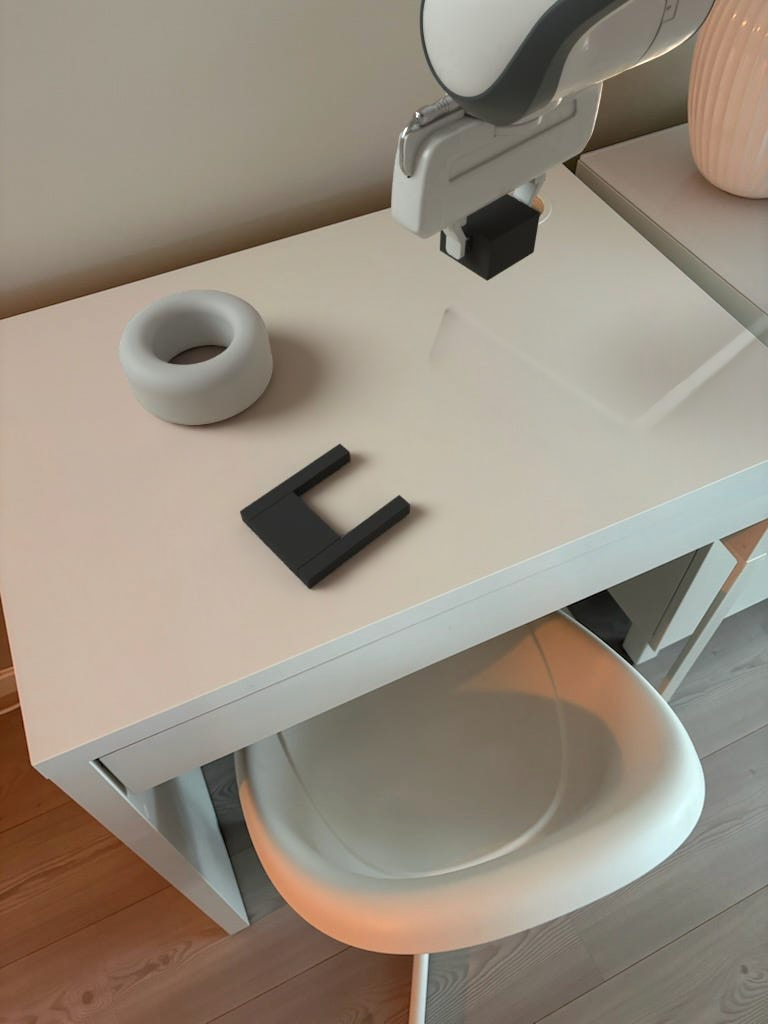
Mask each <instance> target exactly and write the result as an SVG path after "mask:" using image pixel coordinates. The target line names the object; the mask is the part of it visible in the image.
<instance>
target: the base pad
mask: <svg viewBox="0 0 768 1024" xmlns="http://www.w3.org/2000/svg"><path fill="white" fill-rule="evenodd" d="M349 463H351V452H350V450H349V449H347V448H346V447H345V446H344V445H343V444H341V443H339V444H337V445H335V446H334V447H333V448H331V449H330V450H328V451H326V452H325V453H324V454H322V455H320V456H319V457H317V458H316V459H314V460H313V461H312V462H310V463H308V464H307V465H306V466H304V467H303V468H301V469H300V470H299V471H297V472H295V473H294V474H293V475H291V476H290V477H288V478H287V479H285V480H283V481H282V482H280V483H279V484H278V485H277V486H276V485H275V487H274V488H272V489H271V490H269V491H267V492H266V493H265V494H263V495H262V496H260V497H258V498H257V499H255V500H254V501H253V502H252V503H250V504H248V505H246V506H245V507H244V508H242V509H241V510H240V511H239V513H240V518H241V520H242V522H243V523H244V524H245V525H246V526H247V527H248V528H249V529H250V530H251V531H252V532H253V533H254V535H256V536H257V538H258V539H260V540H261V541H262V542H263V544H265V546H266V547H267V548H269V550H270V551H271V552H273V554H274V555H275V556H276V557H277V558H278V559H279V560H280V561H281V562H282V563H283V564H284V565H285V566H286V568H288V569H289V570H290V571H291V572H292V574H294V575H295V576H296V577H297V578H298V579H299V580H300V582H302V584H304V586H306V588H307V589H308V590H311V589H312V588H313V587H314V586H316V585H317V584H319V583H320V582H322V581H323V580H324V579H325V578H326V577H328V576H329V575H330V574H332V573H333V572H335V571H336V570H337V569H338V568H340V567H341V566H342V565H343V564H345V563H346V562H348V561H349V560H350V559H352V558H353V557H354V556H356V555H357V554H358V553H360V552H361V551H362V550H363V549H365V548H367V546H369V545H370V544H371V543H373V542H374V541H375V540H377V539H378V538H379V537H381V536H382V535H383V534H385V533H386V532H387V531H388V530H390V529H391V528H392V527H394V526H395V525H396V524H398V523H399V522H400V521H402V520H403V519H404V518H406V517H407V516H408V515H409V514H411V504H410V502H408V501H407V500H406V499H405V498H404V497H402V496H401V495H400V494H398V495H397V496H395V497H394V498H393V499H392V500H390V501H389V502H387V503H386V504H384V505H383V506H382V507H381V508H379V509H378V510H377V511H375V512H374V513H372V514H371V515H370V516H368V517H367V518H366V519H365V520H363V521H362V522H361V523H359V524H357V526H355V527H354V528H353V529H351V530H349V531H348V532H347V533H345V534H344V535H343V536H340V535H339V534H338V533H337V532H336V531H335V530H334V529H333V528H332V527H331V526H330V525H329V524H328V523H327V522H326V521H325V520H323V519H322V518H321V516H319V515H318V514H317V513H316V512H315V511H314V510H313V509H312V508H310V506H308V504H306V502H305V501H303V500H302V498H301V497H302V496H303V495H305V494H306V493H308V492H309V491H310V490H312V489H313V488H314V487H316V486H317V485H318V484H319V485H320V483H322V482H323V481H325V480H326V479H327V478H329V477H330V476H332V475H334V473H336V472H338V471H339V470H341V469H342V468H343V467H345V466H346V465H347V464H349Z"/></svg>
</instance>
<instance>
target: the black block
mask: <svg viewBox="0 0 768 1024" xmlns="http://www.w3.org/2000/svg"><path fill="white" fill-rule="evenodd" d="M540 215H541V212H540V211H538V210H537V209H535V208H533V207H532V208H531V207H530V206H528V205H526V204H524V203H522V202H521V201H519V200H517V199H515V198H514V197H513V195H510V194H509V193H508V194H506V195H504V196H502V197H501V198H499V199H497V200H495V201H493V202H492V203H490V204H488V205H486V206H484V207H483V208H481V209H479V210H477V211H476V212H474V213H472V214H470V215H468V216H467V221H466V224H465V225H464V226H461V228H462V230H464V232H465V233H468V234H470V235H472V236H473V244H472V251H471V252H470V253H469V254H467V255H465V256H464V257H462V258H460V259H456V258H454V257H453V256H451V255H449V254H448V252H447V251H446V234H445V233H444V231H443V230H442V231H440V232H439V233H440V235H439V251H440V252H441V253H443V254H444V255H446V256H447V257H449V258H450V259H452V260H454V261H455V262H457V263H458V264H460V265H462V266H463V267H464V268H466V269H468V270H469V271H471V272H472V273H474V274H476V275H477V276H479V277H480V278H481V279H484V280H485V281H486V282H487V281H489V280H492V279H493V278H495V277H496V276H498V275H500V274H501V273H502V272H504V271H506V270H508V269H509V268H511V267H513V266H514V265H515V264H518V263H519V262H520V261H522V260H524V259H525V258H528V257H529V256H530V255H532V254H533V253H534V252H535V246H536V240H537V236H538V235H537V234H538V229H539V222H540V217H541V216H540Z"/></svg>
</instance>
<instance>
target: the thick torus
mask: <svg viewBox="0 0 768 1024" xmlns="http://www.w3.org/2000/svg"><path fill="white" fill-rule="evenodd" d="M202 346H220V347H224V348H225V350H223V351H222V352H221V353H219V354H218V355H216V356H214V357H212V358H209V359H207V360H205V361H201V362H198V363H197V362H196V363H191V364H175V363H170V361H171V359H173V358H174V357H176V356H177V355H179V354H181V353H183V352H185V351H187V350H191V349H193V348H197V347H202ZM118 356H119V361H120V362H119V363H120V365H121V367H122V370H123V373H124V375H125V377H126V380H127V382H128V384H129V387H130V389H131V391H132V394H133V396H134V398H135V399H136V401H137V402H138V404H140V406H141V407H142V408H143V409H144V410H145V411H146V412H148V413H149V414H151V415H152V416H154V417H155V418H157V419H161V420H162V421H164V422H165V421H166V422H169V423H172V424H177V425H186V426H200V425H207V424H214V423H217V422H218V423H219V422H221V421H225V420H227V419H230V418H232V417H234V416H236V415H238V414H240V413H242V412H243V411H246V409H248V408H249V407H251V406H252V405H254V403H256V401H258V400H259V398H260V397H261V396H262V395H263V394H264V392H265V391H266V389H267V388H268V386H269V383H270V381H271V379H272V375H273V370H274V369H273V367H274V362H273V361H274V360H273V354H272V350H271V344H270V339H269V334H268V329H267V326H266V323H265V320H264V319H263V317H262V316H261V314H260V312H259V311H258V310H257V309H256V308H255V307H254V306H253V305H252V304H250V303H249V302H248V301H246V300H245V299H242V298H241V297H239V296H237V295H234V294H232V293H229V292H225V291H221V290H216V289H191V290H190V289H189V290H185V291H184V290H183V291H179V292H175V293H172V294H168V295H166V296H163V297H161V298H159V299H156V300H155V301H153V302H151V303H149V304H148V305H146V306H144V307H143V308H142V309H141V310H139V312H137V313H136V314H135V315H134V316H133V317H132V318H131V320H130V321H129V322H128V323H127V325H126V327H125V329H124V330H123V332H122V335H121V338H120V343H119V348H118Z"/></svg>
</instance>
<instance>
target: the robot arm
mask: <svg viewBox="0 0 768 1024" xmlns="http://www.w3.org/2000/svg"><path fill="white" fill-rule="evenodd" d="M716 1H717V0H420V8H419V9H420V10H419V34H420V35H419V36H420V41H421V46H422V50H423V55H424V58H425V61H426V63H427V66H428V68H429V70H430V72H431V74H432V76H433V77H434V79H435V81H436V82H437V84H438V85H439V86H440V88H441V89H442V90H443V91H444V94H445V95H444V96H442V97H441V98H439V99H438V100H437V101H434V102H433V103H430V104H425V105H422V106H421V107H419V108H418V109H416V110H415V111H414V112H413V114H412V119H410V120H409V122H408V123H407V124H406V125H405V128H404V129H403V130H402V131H401V132H400V133H399V137H398V143H397V148H396V154H395V160H394V166H393V176H392V185H391V199H390V200H391V203H390V204H391V205H390V213H391V216H392V219H393V220H394V221H395V222H396V223H397V224H398V225H399V226H401V227H402V228H403V229H405V230H406V231H408V232H410V233H412V234H413V235H414V236H416V237H419V238H420V239H423V240H424V239H429V238H431V237H433V236H435V235H436V234H438V233H441V231H442V230H443V231H444V233H445V234H446V251H447V252H448V254H449V255H451V256H453V257H454V258H456V259H460V258H462V257H464V256H465V255H467V254H469V253H470V252H471V251H472V244H473V236H472V235H470V234H468V233H465V232H464V230H462V228H461V226H464V225H465V224H466V221H467V216H468V215H470V214H472V213H474V212H476V211H477V210H479V209H481V208H483V207H484V206H486V205H488V204H490V203H492V202H493V201H495V200H497V199H499V198H501V197H502V196H504V195H506V194H508V195H509V194H510V193H511V192H513V194H512V197H514V198H515V199H517V200H519V201H521V202H522V203H524V204H526V205H528V206H530V207H531V208H533V203H534V201H535V199H536V197H537V196H538V194H539V192H540V190H541V188H542V186H543V185H544V183H545V181H546V176H547V172H549V171H550V170H552V169H554V168H556V167H557V166H559V165H561V164H563V163H565V162H566V161H569V160H570V159H572V158H574V157H576V156H577V155H579V154H581V153H582V152H583V151H584V149H585V148H586V147H587V145H588V143H589V141H590V140H591V138H592V135H593V132H594V130H595V125H596V121H597V117H598V113H599V107H600V103H601V97H602V91H603V82H604V81H605V80H608V79H610V78H613V77H615V76H617V75H620V74H621V73H624V72H626V71H628V70H631V69H633V68H636V67H638V66H640V65H642V64H645V63H647V62H650V61H652V60H654V59H656V58H659V57H661V56H663V55H665V54H667V53H668V52H670V51H671V50H674V49H675V48H676V47H679V46H681V45H683V44H685V43H686V42H688V41H689V40H690V39H691V38H692V37H694V36H695V35H696V33H698V31H699V30H700V29H701V27H702V26H703V25H704V23H705V22H706V20H707V19H708V17H709V15H710V13H711V11H712V10H713V7H714V5H715V3H716Z"/></svg>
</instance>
